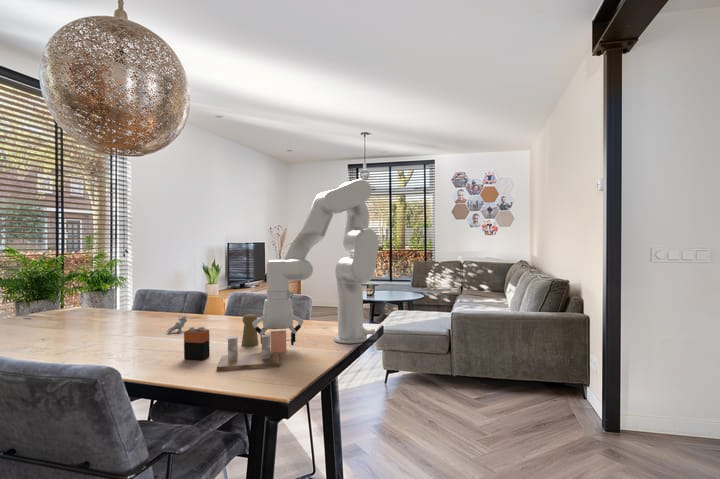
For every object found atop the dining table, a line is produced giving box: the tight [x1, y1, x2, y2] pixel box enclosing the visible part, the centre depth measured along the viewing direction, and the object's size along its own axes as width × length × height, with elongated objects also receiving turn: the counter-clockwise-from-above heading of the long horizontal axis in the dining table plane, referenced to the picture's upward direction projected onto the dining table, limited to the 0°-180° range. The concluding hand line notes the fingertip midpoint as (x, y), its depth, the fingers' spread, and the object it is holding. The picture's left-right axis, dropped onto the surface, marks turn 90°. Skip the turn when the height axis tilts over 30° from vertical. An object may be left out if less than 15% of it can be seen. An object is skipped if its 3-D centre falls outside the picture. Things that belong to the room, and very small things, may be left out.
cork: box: [241, 313, 259, 348], centre depth 151 cm, size 6×6×11 cm
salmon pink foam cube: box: [270, 329, 287, 354], centre depth 142 cm, size 5×5×7 cm
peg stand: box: [216, 334, 280, 372], centre depth 128 cm, size 18×12×8 cm, turn 102°
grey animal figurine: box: [166, 316, 188, 334], centre depth 172 cm, size 10×6×9 cm
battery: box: [183, 326, 211, 361], centre depth 134 cm, size 4×7×10 cm, turn 79°
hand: (278, 345), depth 142 cm, fingers open, 9 cm apart
